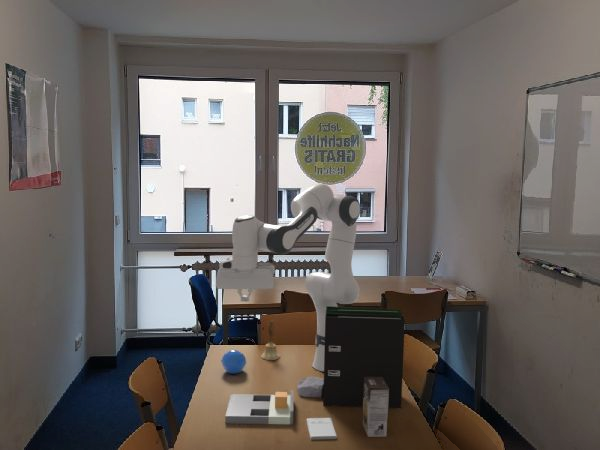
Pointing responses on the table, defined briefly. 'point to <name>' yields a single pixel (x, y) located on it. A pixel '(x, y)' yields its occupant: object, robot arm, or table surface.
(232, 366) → the blue ball
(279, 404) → the block
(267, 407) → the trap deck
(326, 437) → the external hard drive
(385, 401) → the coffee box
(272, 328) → the hand bell
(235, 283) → the robot arm
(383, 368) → the binder
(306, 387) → the stone block
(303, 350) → the table surface
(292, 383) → the table surface
